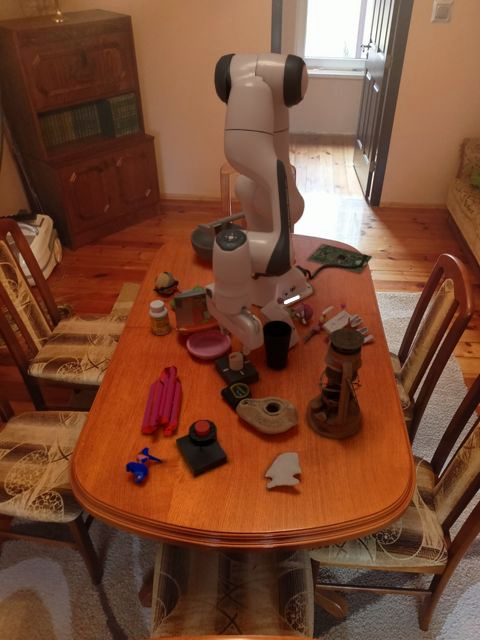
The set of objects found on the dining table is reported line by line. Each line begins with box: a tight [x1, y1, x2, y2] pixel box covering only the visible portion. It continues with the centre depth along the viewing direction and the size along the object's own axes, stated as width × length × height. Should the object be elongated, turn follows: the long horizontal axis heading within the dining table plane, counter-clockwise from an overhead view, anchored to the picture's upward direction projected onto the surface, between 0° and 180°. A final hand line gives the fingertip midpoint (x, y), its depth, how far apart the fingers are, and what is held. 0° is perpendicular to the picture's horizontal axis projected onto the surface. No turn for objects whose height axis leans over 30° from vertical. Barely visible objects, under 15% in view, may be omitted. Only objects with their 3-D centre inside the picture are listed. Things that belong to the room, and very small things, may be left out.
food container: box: [173, 289, 220, 335], centre depth 140 cm, size 16×16×11 cm
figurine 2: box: [277, 298, 321, 343], centre depth 144 cm, size 11×13×15 cm
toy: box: [152, 270, 180, 295], centre depth 159 cm, size 8×9×15 cm
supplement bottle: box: [148, 299, 171, 336], centre depth 143 cm, size 5×5×10 cm
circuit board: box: [307, 243, 373, 274], centre depth 180 cm, size 14×20×1 cm
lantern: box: [306, 317, 365, 440], centre depth 109 cm, size 17×13×30 cm
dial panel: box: [214, 350, 260, 387], centre depth 130 cm, size 8×10×3 cm
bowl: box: [190, 222, 247, 263], centre depth 177 cm, size 20×20×10 cm
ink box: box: [259, 301, 301, 349], centre depth 138 cm, size 9×5×12 cm, turn 33°
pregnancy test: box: [320, 305, 354, 335], centre depth 143 cm, size 8×12×1 cm, turn 140°
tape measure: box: [220, 382, 253, 412], centre depth 122 cm, size 7×7×4 cm
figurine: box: [125, 446, 163, 484], centre depth 106 cm, size 5×8×5 cm, turn 158°
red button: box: [195, 419, 210, 437], centre depth 110 cm, size 3×3×2 cm
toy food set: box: [169, 285, 204, 310], centre depth 155 cm, size 13×13×3 cm
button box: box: [175, 419, 228, 478], centre depth 110 cm, size 9×11×4 cm
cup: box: [262, 320, 292, 371], centre depth 131 cm, size 8×8×12 cm
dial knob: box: [228, 351, 243, 370], centre depth 128 cm, size 4×4×4 cm
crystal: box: [140, 364, 183, 437], centre depth 121 cm, size 8×6×25 cm
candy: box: [318, 301, 347, 347], centre depth 144 cm, size 18×8×6 cm, turn 173°
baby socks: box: [350, 313, 374, 344], centre depth 144 cm, size 12×5×3 cm, turn 16°
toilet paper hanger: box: [197, 209, 245, 242], centre depth 174 cm, size 22×13×6 cm, turn 127°
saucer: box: [186, 329, 232, 361], centre depth 138 cm, size 12×12×3 cm
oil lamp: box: [235, 396, 299, 435], centre depth 115 cm, size 11×15×8 cm
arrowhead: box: [264, 451, 302, 489], centre depth 106 cm, size 8×2×10 cm
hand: (235, 343), depth 124 cm, fingers open, 8 cm apart
